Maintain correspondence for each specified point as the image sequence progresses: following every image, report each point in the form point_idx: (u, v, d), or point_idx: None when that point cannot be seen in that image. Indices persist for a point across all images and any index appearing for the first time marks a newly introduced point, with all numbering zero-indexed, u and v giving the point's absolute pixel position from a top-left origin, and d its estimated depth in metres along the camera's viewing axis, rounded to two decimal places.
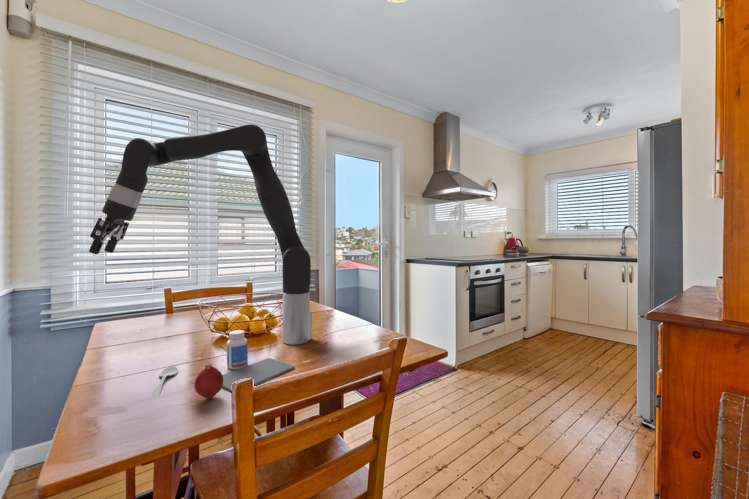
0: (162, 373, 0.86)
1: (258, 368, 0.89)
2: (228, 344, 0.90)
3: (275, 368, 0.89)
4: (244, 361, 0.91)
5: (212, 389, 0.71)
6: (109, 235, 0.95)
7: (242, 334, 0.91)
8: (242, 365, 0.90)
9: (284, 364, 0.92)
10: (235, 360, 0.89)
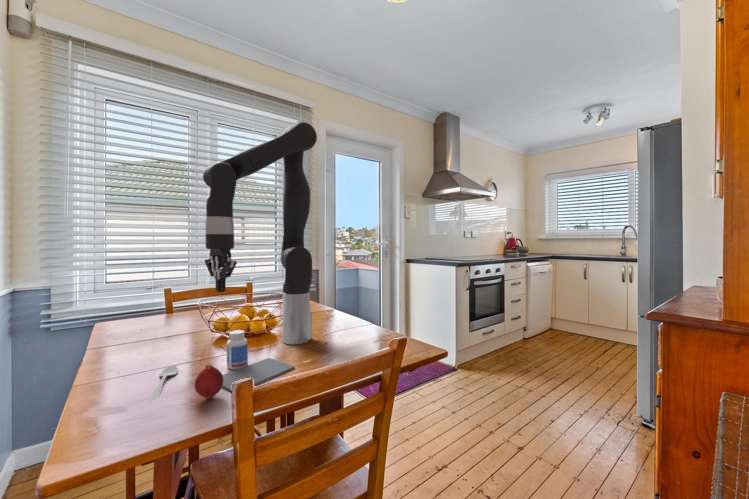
0: (162, 373, 0.86)
1: (258, 368, 0.89)
2: (228, 344, 0.90)
3: (275, 368, 0.89)
4: (244, 361, 0.91)
5: (212, 389, 0.71)
6: None
7: (242, 334, 0.91)
8: (242, 365, 0.90)
9: (284, 364, 0.92)
10: (235, 360, 0.89)
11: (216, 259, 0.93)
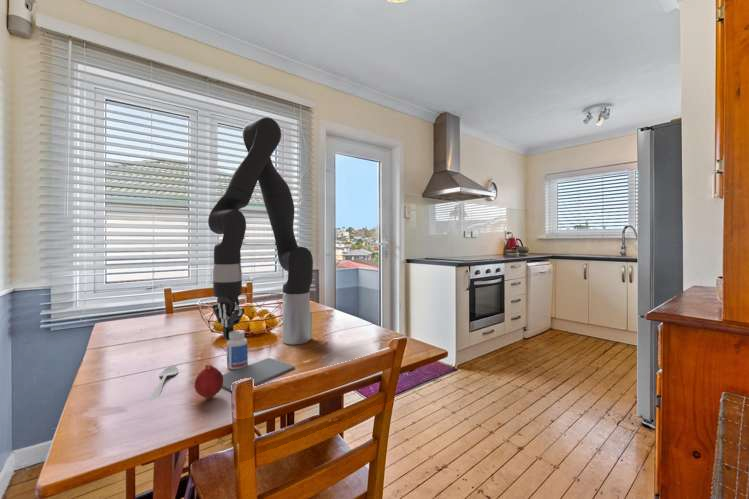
0: (162, 373, 0.86)
1: (258, 368, 0.89)
2: (228, 344, 0.90)
3: (275, 368, 0.89)
4: (244, 361, 0.91)
5: (212, 389, 0.71)
6: None
7: (242, 334, 0.91)
8: (242, 365, 0.90)
9: (284, 364, 0.92)
10: (235, 360, 0.89)
11: (224, 307, 0.91)
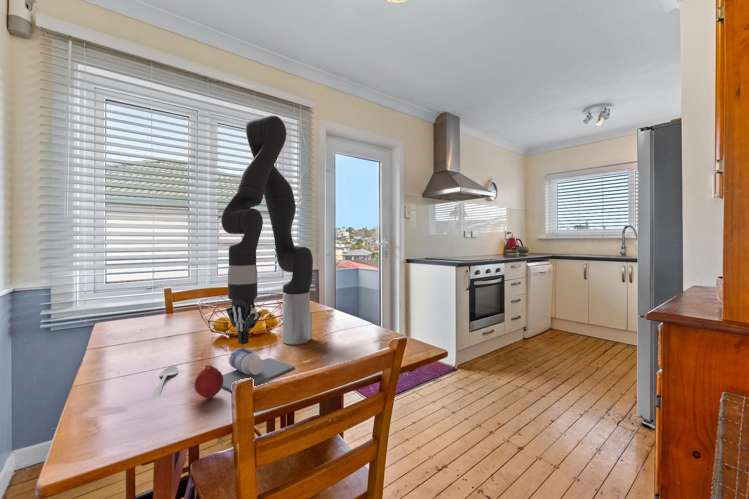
0: (162, 373, 0.86)
1: None
2: (242, 371, 0.83)
3: (275, 368, 0.89)
4: None
5: (212, 389, 0.71)
6: None
7: None
8: None
9: (284, 364, 0.92)
10: None
11: (239, 310, 0.87)
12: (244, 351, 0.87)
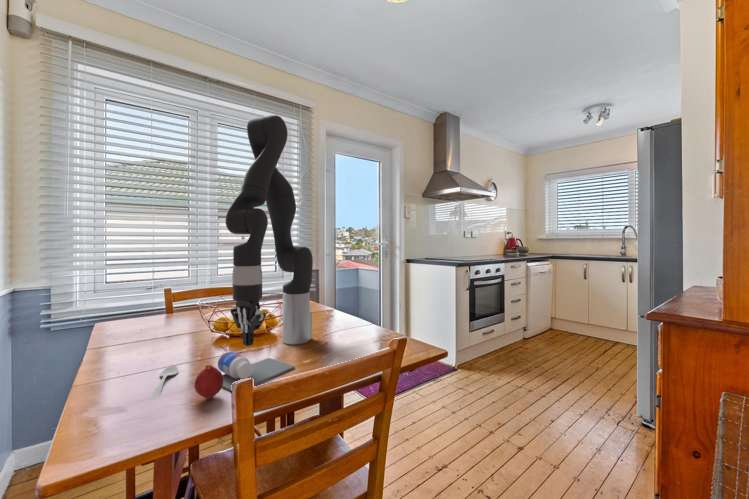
0: (162, 373, 0.86)
1: (258, 368, 0.89)
2: None
3: (275, 368, 0.89)
4: None
5: (212, 389, 0.71)
6: None
7: None
8: None
9: (284, 364, 0.92)
10: None
11: (244, 311, 0.86)
12: (224, 364, 0.83)
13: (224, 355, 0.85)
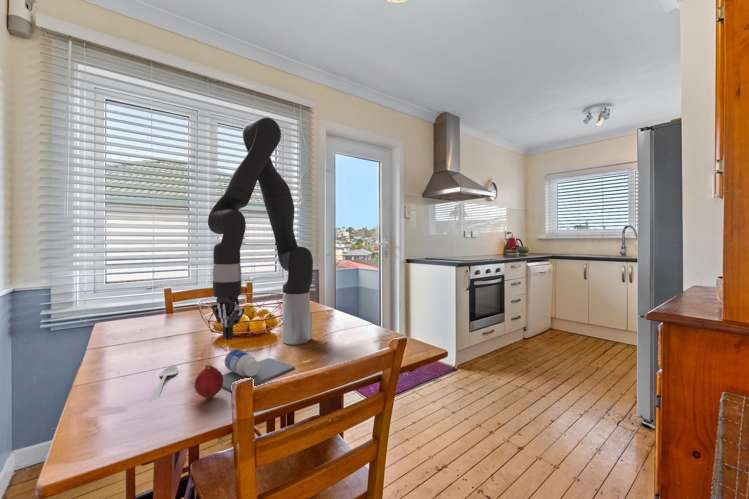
0: (162, 373, 0.86)
1: None
2: (241, 375, 0.83)
3: (275, 368, 0.89)
4: None
5: (212, 389, 0.71)
6: None
7: None
8: None
9: (284, 364, 0.92)
10: None
11: (224, 307, 0.91)
12: (235, 355, 0.85)
13: (237, 350, 0.88)
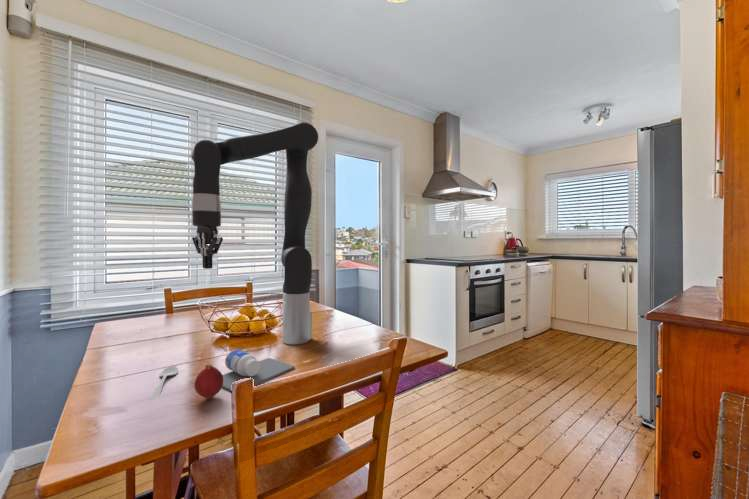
0: (162, 373, 0.86)
1: None
2: None
3: (275, 368, 0.89)
4: None
5: (212, 389, 0.71)
6: None
7: None
8: None
9: (284, 364, 0.92)
10: None
11: (203, 236, 0.95)
12: (236, 354, 0.85)
13: (238, 350, 0.88)
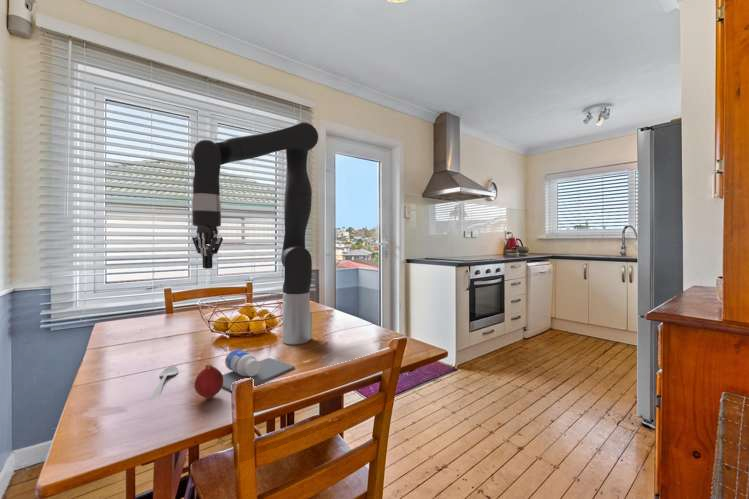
0: (162, 373, 0.86)
1: None
2: None
3: (275, 368, 0.89)
4: None
5: (212, 389, 0.71)
6: None
7: None
8: None
9: (284, 364, 0.92)
10: None
11: (203, 236, 0.95)
12: (236, 354, 0.85)
13: (238, 350, 0.88)
